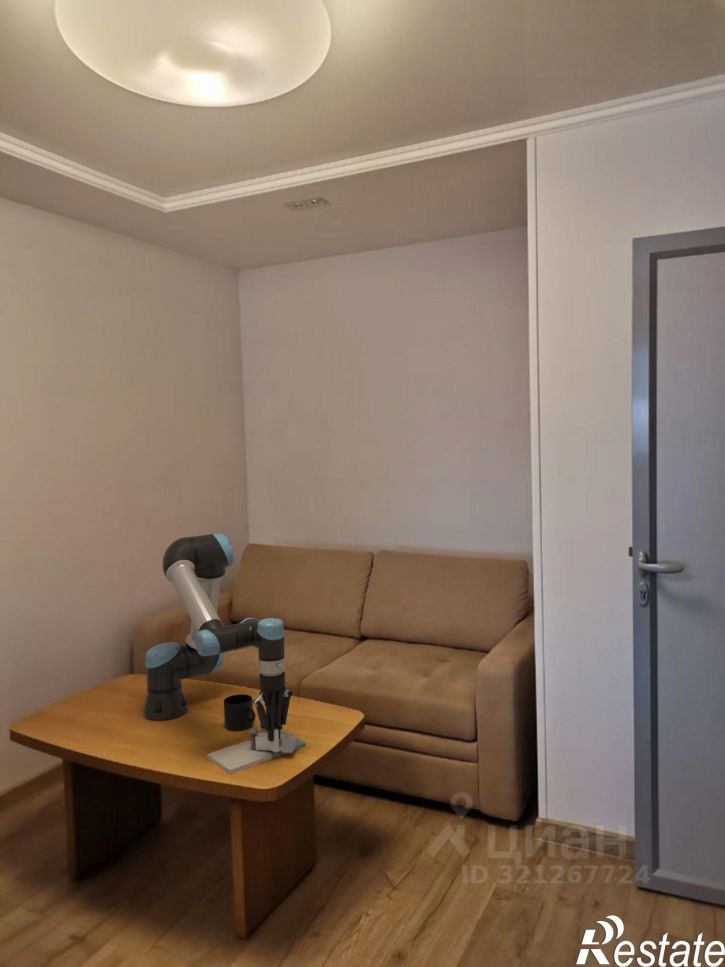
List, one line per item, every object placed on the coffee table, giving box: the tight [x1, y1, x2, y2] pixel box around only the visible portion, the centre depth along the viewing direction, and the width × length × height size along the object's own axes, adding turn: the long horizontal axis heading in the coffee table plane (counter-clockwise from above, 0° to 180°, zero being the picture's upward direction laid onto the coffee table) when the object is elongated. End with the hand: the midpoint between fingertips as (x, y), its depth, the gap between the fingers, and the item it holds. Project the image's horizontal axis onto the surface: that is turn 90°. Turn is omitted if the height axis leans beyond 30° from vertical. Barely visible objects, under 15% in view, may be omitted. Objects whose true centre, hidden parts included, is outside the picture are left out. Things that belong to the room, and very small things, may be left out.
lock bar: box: [255, 732, 297, 754], centre depth 219 cm, size 11×4×4 cm, turn 77°
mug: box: [223, 693, 256, 732], centre depth 241 cm, size 9×12×9 cm
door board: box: [206, 727, 306, 775], centre depth 221 cm, size 14×26×7 cm, turn 129°
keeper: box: [259, 723, 268, 733], centre depth 227 cm, size 2×3×5 cm
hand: (274, 750), depth 216 cm, fingers closed
